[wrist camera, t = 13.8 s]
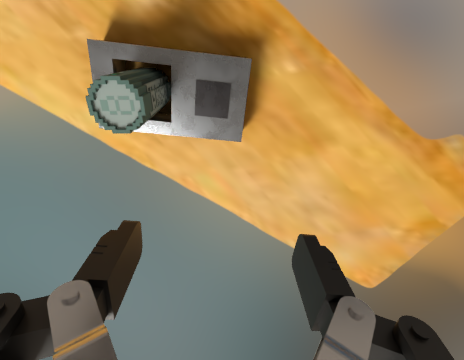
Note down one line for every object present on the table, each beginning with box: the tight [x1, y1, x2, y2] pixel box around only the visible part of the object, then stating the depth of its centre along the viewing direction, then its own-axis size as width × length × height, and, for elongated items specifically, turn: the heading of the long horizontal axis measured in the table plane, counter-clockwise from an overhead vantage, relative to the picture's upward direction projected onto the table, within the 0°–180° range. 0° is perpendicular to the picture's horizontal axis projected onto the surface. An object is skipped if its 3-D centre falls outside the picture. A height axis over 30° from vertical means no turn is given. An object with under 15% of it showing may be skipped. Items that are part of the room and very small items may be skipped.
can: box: [85, 67, 171, 133], centre depth 34 cm, size 6×6×15 cm
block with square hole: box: [87, 39, 252, 142], centre depth 38 cm, size 12×22×5 cm, turn 84°
